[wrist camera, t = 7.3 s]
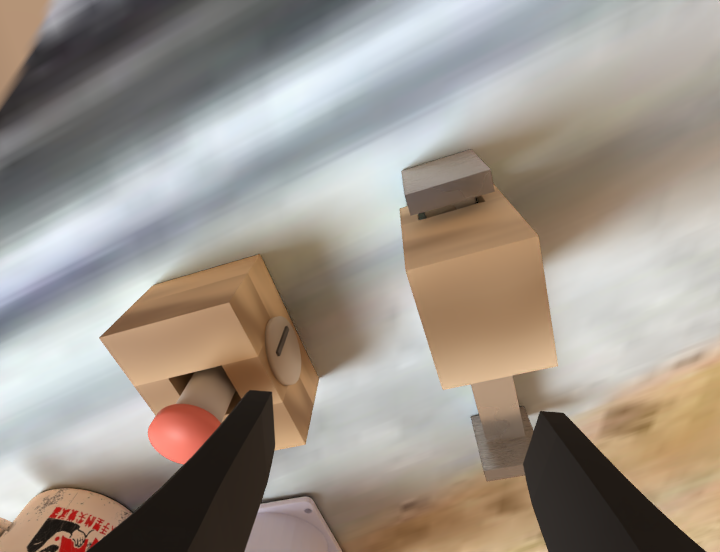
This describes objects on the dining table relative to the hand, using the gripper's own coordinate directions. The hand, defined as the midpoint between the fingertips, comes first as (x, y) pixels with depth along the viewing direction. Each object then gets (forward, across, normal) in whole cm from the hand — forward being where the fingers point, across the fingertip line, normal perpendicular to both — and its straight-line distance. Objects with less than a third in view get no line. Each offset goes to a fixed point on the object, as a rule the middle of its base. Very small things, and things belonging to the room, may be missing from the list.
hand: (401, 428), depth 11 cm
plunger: (+6, +8, +4) cm, 11 cm away
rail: (+10, -4, +2) cm, 11 cm away
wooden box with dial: (+10, +8, +4) cm, 13 cm away
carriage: (+10, -3, -2) cm, 10 cm away
